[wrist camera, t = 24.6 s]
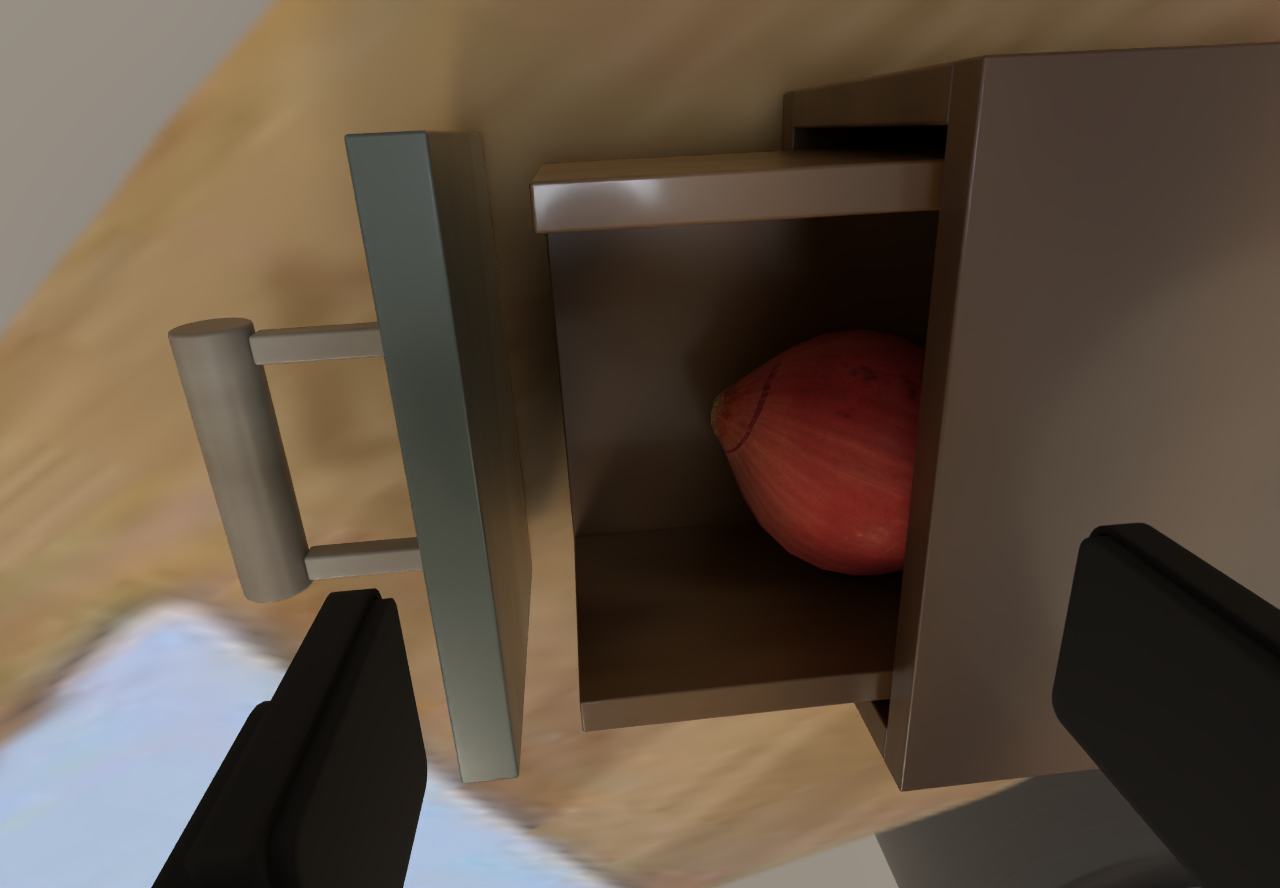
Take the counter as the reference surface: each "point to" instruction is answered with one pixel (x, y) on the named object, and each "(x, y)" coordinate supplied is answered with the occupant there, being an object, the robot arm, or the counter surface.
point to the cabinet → (1072, 362)
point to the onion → (829, 447)
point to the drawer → (593, 420)
